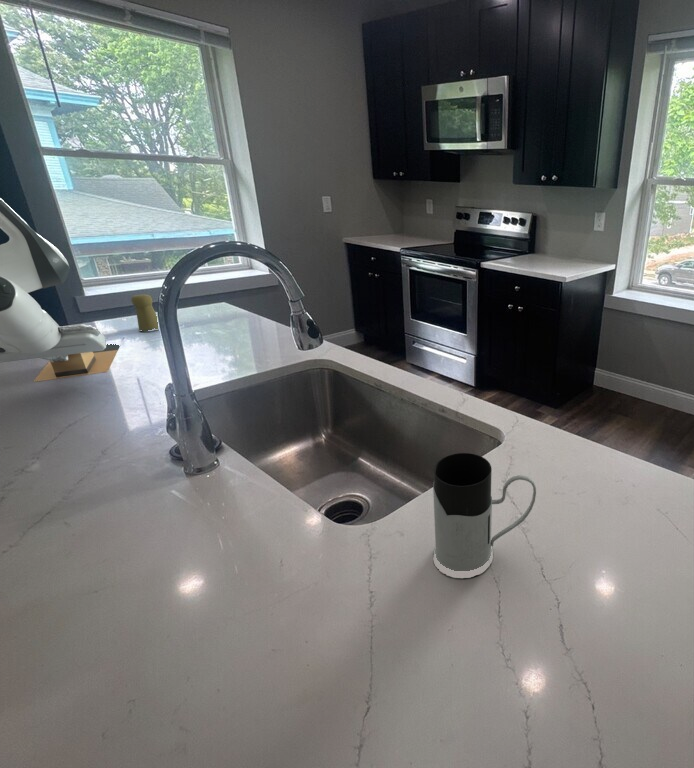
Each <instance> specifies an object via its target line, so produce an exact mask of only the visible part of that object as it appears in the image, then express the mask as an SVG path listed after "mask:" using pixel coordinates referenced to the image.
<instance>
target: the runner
mask: <svg viewBox="0 0 694 768" xmlns="http://www.w3.org/2000/svg"><path fill="white" fill-rule="evenodd" d="M120 348H121V345H120V346H119V345H116V344H115V345H114V344H113V345H112V344H110V345H108V344H107V345H106V348H105V349H104V350H102V351H94V352H93V354H94V355H95V358H96V360H95V362H94V364H93V365H92V367H91V369H90V371H89V372H88V373H84V374H77V375H69V376H62V377H56V376H55V372H54V370H53V367H52V365H51V363H50V361H49V360H48V362H47V363H46V365H44V367H43V369H42V370H41V371H40V372H39V374H38V375H37V376H36V377H35V378H34V380H33V381H32V382H33V383H35V382H42V381H43V382H45V381H52V380H57V379H59V380H60V379H67V378H73V377H80V376H88V375H96V374H102V373H103V374H104V373H108V372H109V370H110V368H111V366H112V364H113V363H114V360H115V359H116V356H117V353H118V351H119V349H120Z"/></svg>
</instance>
